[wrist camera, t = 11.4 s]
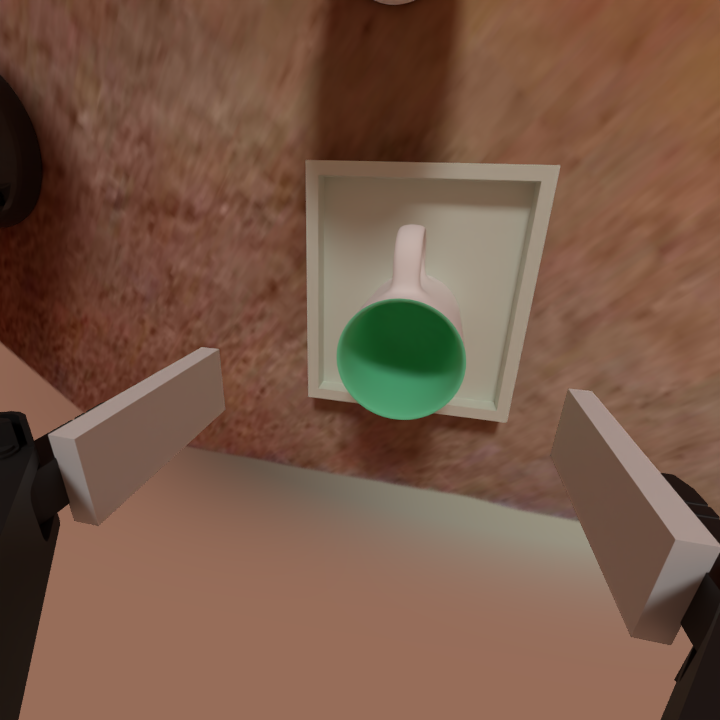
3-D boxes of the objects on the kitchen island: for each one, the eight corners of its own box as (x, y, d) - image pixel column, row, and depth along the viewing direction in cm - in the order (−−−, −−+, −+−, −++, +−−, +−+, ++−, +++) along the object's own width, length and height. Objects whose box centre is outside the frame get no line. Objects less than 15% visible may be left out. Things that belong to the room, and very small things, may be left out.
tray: (316, 385, 38) (308, 396, 36) (315, 163, 31) (305, 159, 29) (502, 409, 35) (506, 422, 33) (550, 169, 28) (560, 165, 26)
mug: (362, 225, 31) (326, 230, 22) (464, 220, 30) (473, 223, 20) (368, 361, 36) (340, 416, 26) (458, 364, 34) (463, 423, 24)
